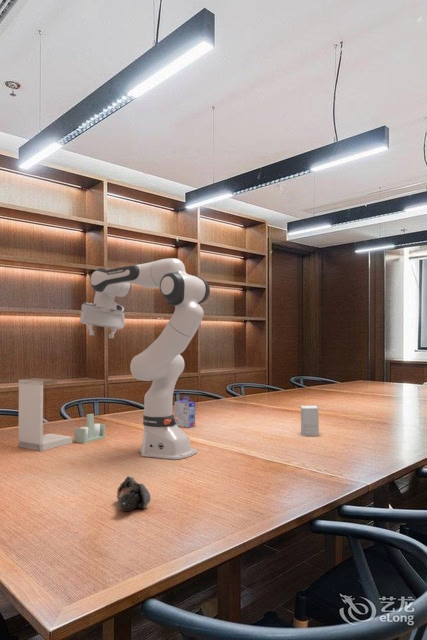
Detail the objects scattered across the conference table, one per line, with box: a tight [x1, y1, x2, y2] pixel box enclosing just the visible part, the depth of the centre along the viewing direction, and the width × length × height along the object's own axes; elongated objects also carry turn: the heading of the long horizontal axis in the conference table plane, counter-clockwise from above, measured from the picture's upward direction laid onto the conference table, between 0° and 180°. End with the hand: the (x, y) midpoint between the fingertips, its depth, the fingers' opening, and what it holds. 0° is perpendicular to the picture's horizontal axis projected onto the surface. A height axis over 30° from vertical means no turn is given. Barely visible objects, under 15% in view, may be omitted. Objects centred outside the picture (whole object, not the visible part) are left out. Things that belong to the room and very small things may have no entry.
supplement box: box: [300, 405, 320, 437], centre depth 210 cm, size 7×7×13 cm
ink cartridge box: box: [173, 395, 196, 429], centre depth 231 cm, size 10×6×14 cm, turn 53°
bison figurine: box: [116, 475, 151, 512], centre depth 124 cm, size 12×7×10 cm
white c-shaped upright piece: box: [18, 377, 73, 452], centre depth 194 cm, size 14×16×28 cm
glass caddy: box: [74, 413, 106, 444], centre depth 202 cm, size 6×12×11 cm, turn 148°
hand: (101, 336), depth 202 cm, fingers open, 8 cm apart
